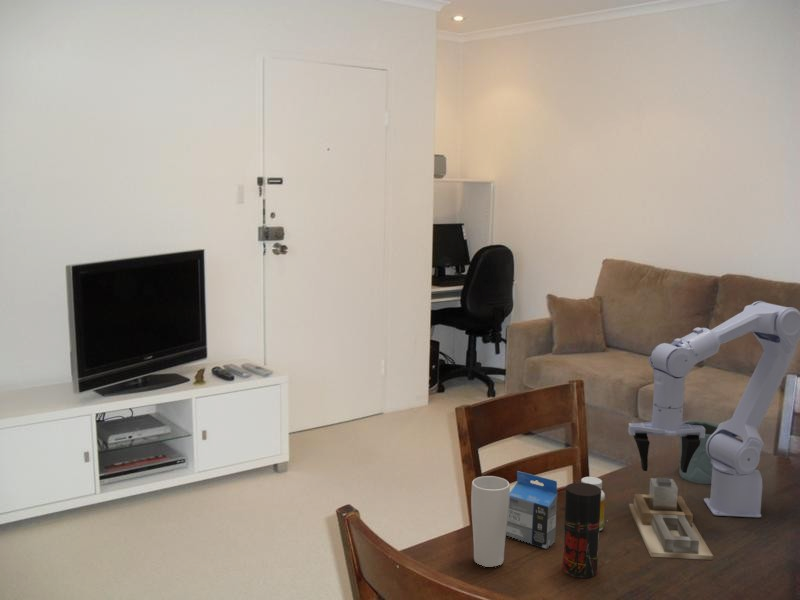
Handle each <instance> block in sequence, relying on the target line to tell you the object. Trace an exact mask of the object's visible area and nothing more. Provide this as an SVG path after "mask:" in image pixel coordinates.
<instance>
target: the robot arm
mask: <svg viewBox="0 0 800 600" xmlns="http://www.w3.org/2000/svg"><path fill="white" fill-rule="evenodd" d="M692 331H693V332H690V333H688V334H686V335H684V336H683V337H681V338H675V339H674V340H673V341H672V342H671V343H668V342H664V343H659V344H658V345H656V346H655V348H654V349H653V350H652V352H651V356H648V363H649V365H650V368H651V369H652V371H653V373H652V377H653V378H654V379H653V395H652V397H653V398H652V411H651V414H652V415H651V421H648V422H635V423H633V422H632V423H631V422H629V423H628V424H627V425H628V427H627V433H628V434H629V436H633V439H634V441H635V444H636V446H637V449H638V454H639V457H640V462H641V463H640V464H641V469H642V471H643V472H648V466H649V464H648V462H649V461H648V460H649V459H648V458H649V449H650V440H649V436H667V437H680V436H682V455H681V470H682V472H683V473H687V469H688V465H689V463H690V460H691V458H692V456H693V454H694V453H695V451H696V450H697V448H698V447H699V445H700V440H699V438H705V428H704V427H703V426H697V425H689V424H682V422H683V416H684V415H683V414H684V397H685V383H686V381H685V380H686V376H688V375H689V374H690V373H691V371H692V369H693V367H694V366H696V364H699V363H701V362H702V361H704V360H706V359H708V358H710V357H712V356H714V355H716V354H718V352H719V350H720V346H721V345H723V344H725V343H728V342H731V341H732V340H736V339H738V338H740V337H742V336H745V335H747V334H750V333H752V334H753V335H754V336H755V338H756V339H757V341H758V342H759V344H761V347H762V350H763V352H762V354H761V357H759V360H758V363H757V364H756V367H755V369H754V371H753V373H752V375H751V376H750V379H749V381H748V383H747V386H746V387H745V390H744V392H743V394H742V395H741V398H740V399H739V402H738V404H737V405H736V408H735V409H734V412H733V415H732V417H730V419H727V420H725V421H723V422H720V423H719V424H718V425H719V426H718V428H717V429H716V431H715V432H714V433H713V434H712V435H711V436H710V437H709V438H708V440H707V443H706V452H707V455H708V456H709V457H710V458H711V464H713V468H712V482H711V486H710V497H704V498H703V501H704V503H705V504H706V506H707V507H708V509H709V511H710V513H711V514H712V515H713V516H720V517H721V516H722V517H723V516H724V517H725V516H726V517H741V518H742V517H743V518H762V514H761V512H762V510H761V509H762V500H763V499H762V498H763V497H762V496H763V478H762V477H763V476H762V475H761V472H760V470H758V469H756V468H757V467H758V465H759V463H760V461H761V460H760V459H761V452H762V449H763V446H764V440H763V439H762V437H761V435H760V433H759V429H760V427H761V425H762V423H763V420H764V418H765V417H766V415H767V412H768V411H769V408H770V406H771V405H772V403H773V400H774V398H775V396H776V394H777V392H778V390H779V388H780V385H781V383H782V381H783V380H784V377H785V375H786V373H787V370H788V369H789V367H790V365H791V363H792V361H793V358H794V357H795V354H796V349H797V344H798V342H799V339H800V310H798V308H796V307H789V306H788V307H787V306H784V305H778V304H774V303H769V302H766V301H763V300H758V301H754V302H753V303H751V304H748V305H745V306H744V308H743V311H741V312H739V313H738V314H737V313H736V315H734V316H732V317H731V318H728V319H727V320H725V321H724V322H722V323H720V324H719V325H717V326H715V327H714V328H712V329H709V328H707V327H695V328H693V329H692ZM737 437H739V438H737Z"/></svg>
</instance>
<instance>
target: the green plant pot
mask: <svg viewBox="0 0 800 600" xmlns="http://www.w3.org/2000/svg"><path fill="white" fill-rule="evenodd" d="M682 424H689V425H697V426H703V427H704V428H705V438H699V440H700V445H699V447H698V448H697V450H696V451H695V453H694V454H693V456H692V458H691V460H690V463H689V465H688V469H687V473H683V472H682V470H681V455H682V436H679V440H680V443H679V476H680V477H681V479H683V480H685V481H688V482H691V483H695V484H701V485H702V484H703V485H705V484H709V485H710V484H711V482H712V468H713V464H711V458H710V457H709V456H708V455H707V452H706V443H707V440H708V438H709V437H710V436H711V435H712V434H713V433H714V432H715V431H716V429H717V428H718V426H719V424H718V423H714V422H711V421H710V422H709V421H706V420H705V421H703V420H687V421H682Z"/></svg>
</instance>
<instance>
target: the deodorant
mask: <svg viewBox="0 0 800 600" xmlns="http://www.w3.org/2000/svg"><path fill="white" fill-rule="evenodd" d="M601 490H602V489H600V488H599V487H597V486H595V485H592V484H588V483H581V482H573V483H570V484H567V485H566V487H565V505H564V506H565V510H564V526H563V527H564V530H563V552H562V570H564V571H565V572H566V573H567V575H568V574H570V575H572V576H571V577H573V576H574V577H573V578H576V577H577V579H578V578H579V579H589V578H590V579H591V578H593V577H595V576H596V575H597V574H598V563H599V562H598V559H599V542H600V531H599V524H600V504H601ZM564 571H563V572H564ZM565 572H564V573H565ZM566 573H565V574H566ZM570 575H569V576H570Z"/></svg>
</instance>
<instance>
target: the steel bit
mask: <svg viewBox="0 0 800 600" xmlns="http://www.w3.org/2000/svg"><path fill="white" fill-rule="evenodd" d="M678 487H679V486H678V485H677V484H676V482H675V480H674V479H673V478H669V477H655V478H654V477H650V478H649V492H648V495H649V506H648V508H649V510H655V511H676V509H677V496H678V490H679V488H678Z"/></svg>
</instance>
